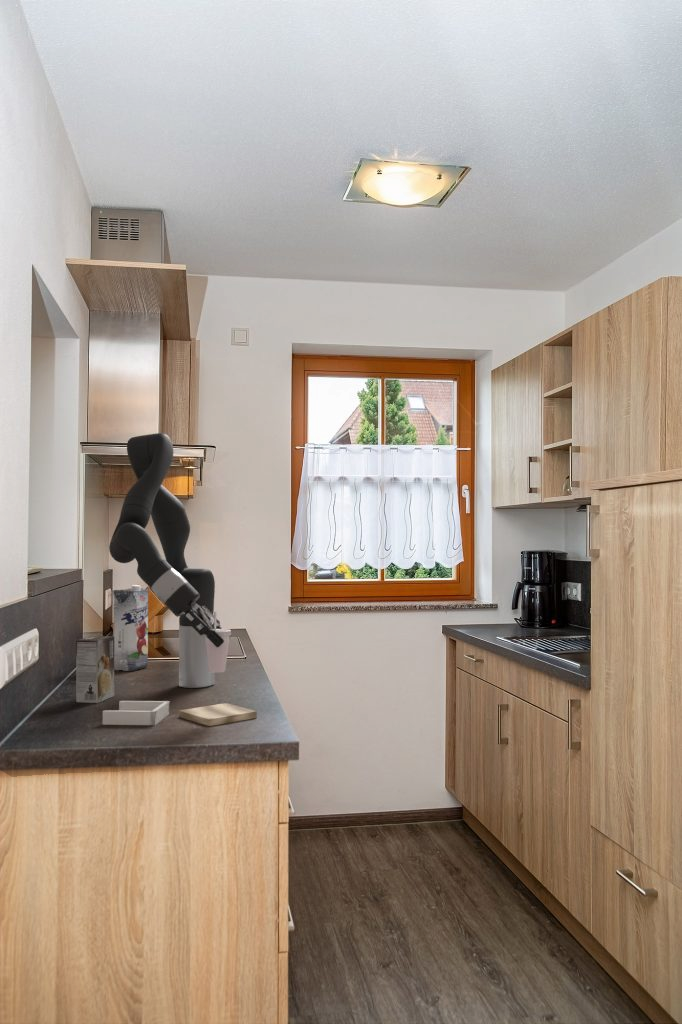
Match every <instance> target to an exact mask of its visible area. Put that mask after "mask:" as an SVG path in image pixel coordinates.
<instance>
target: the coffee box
mask: <svg viewBox="0 0 682 1024" xmlns="http://www.w3.org/2000/svg"><path fill="white" fill-rule="evenodd" d="M75 643H76V645H75V646H76V649H75V651H76V652H75V656H76V657H75V658H76V659H75V660H76V663H75V664H76V665H75V667H76V669H75V670H76V671H75V672H76V673H75V677H76V680H75V681H76V685H75V686H76V687H75V688H76V693H75V694H76V696H75V698H76V700H75V702H76V703H86V704H87V703H89V704H99V703H101V702H103V701H106V700H109V699H111V698H113V697H115V670H114V636H113V635H111V636H109V635H108V636H107V635H93V636H88V637H85V638H80V639H76V640H75Z"/></svg>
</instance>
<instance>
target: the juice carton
mask: <svg viewBox="0 0 682 1024" xmlns="http://www.w3.org/2000/svg"><path fill="white" fill-rule="evenodd" d="M112 596H113V597H112V598H113V605H112V607H113V617H112V618H113V621H112V622H113V624H112V626H113V629H112V630H113V632H112V633H113V635H112V636H114V671H119V670H123V671H124V672H135V671H138V669H139V670H143V669H145V668H148V662H149V661H148V659H149V658H148V657H149V655H148V654H149V589H148V588H142V586H141V585H137V584H132V585H131V588H125V589H114V590H112ZM142 668H143V669H142Z"/></svg>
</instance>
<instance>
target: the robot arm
mask: <svg viewBox="0 0 682 1024" xmlns="http://www.w3.org/2000/svg"><path fill="white" fill-rule="evenodd" d="M173 445H174V444H173V442H172V440H171V437H169V435H167V434H166V433H162V432H157V433H151V434H150V433H149V434H144V435H137V436H133V437H130V438H129V439H128V440H127V443H126V453H127V458H128V459H129V464H130V466H131V469H132V471H133V473H134V475H135V477H136V480H137V481H135V483H134V484H133V485H132V486H131V487H130V489H129V490H128V491H127V493H126V495H125V496H124V500H123V503H122V506H121V507H122V508H121V510H120V515H119V519H118V522H117V524H116V526H115V529H114V531H113V534H112V536H111V539H110V543H109V546H108V547H109V549H108V550H109V553H110V556H111V557H112V559H114V561H115V562H118V563H121V564H128V563H131V562H132V561H134V560H135V561H136V562H137V563H136V564H137V569H136V572H137V575H138V577H139V578H140V579H141V580H142V581H143V582H144V583H145V585H147V586H148V587H149V588H150V589H151V591H152V592H153V593H154V595H155V596H156V597H157V598H158V599H159V600H160V601H161V602H162V603H163V605H165V607H166V608H168V609H169V611H170V612H171V613H172V614H173V615H174V616H175V617H176V618H177V617H179V619H178V687H180V688H181V687H182V688H189V689H190V688H191V689H193V688H194V689H195V688H197V689H198V688H206V687H210V686H212V685H215V683H216V680H215V679H216V677H215V675H216V673H211V672H209V665H208V657H207V648H206V639H205V637H206V636H207V638H208V639H209V640H210V641H211V642H212V643H213V644H214V645H215V646H216V647H220V646H221V645H222V644H223V643H224V640H223V639H222V638H221V637H220V636H219V635H218V634H217V633H216V631H215V630H213V629H214V612H215V611H214V610H215V592H216V590H215V587H216V585H215V584H216V583H215V582H216V580H215V577H214V574H213V572H212V571H211V570H210V569H208V568H189V567H188V565H187V562H186V558H185V549H186V546H187V543H188V540H189V538H190V534H191V524H190V521H189V517H188V514H187V512H186V507H185V506H184V504H183V503H182V502H181V501H180V499H179V498H177V497H176V496H175V495H174V494H173V493H171V491H169V490H168V489H167V488H166V487H165V486H164V485H162V484H163V482H164V480H165V478H166V477H167V473H168V471H169V469H170V467H171V466H172V463H173V459H174V446H173ZM150 518H151V520H152V522H153V525H154V528H155V529H154V530H155V531H156V533H157V536H158V540H159V541H160V545H161V548H162V550H163V553H164V557H163V556H162V555H161V553H160V551H159V550H158V547H157V546H156V544H155V542H154V540H153V539H152V538H151V535H150V534H149V533H148V531H146V528H147V526H148V524H149V521H150ZM216 629H223V627H221V621H220V620H218V619H217V618H216ZM212 630H213V631H212ZM230 639H231V635H230V636H229V640H230Z"/></svg>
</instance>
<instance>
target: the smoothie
mask: <svg viewBox="0 0 682 1024" xmlns="http://www.w3.org/2000/svg"><path fill="white" fill-rule="evenodd" d="M213 615H214V629H213V630H215V631H216V633H217V634H218V635H219V636H220V637H221V638H222V639H223V640H224V643H223V644H222V645H221V646H220V647H216V646H215V645H214V644H213V643H212V642H211V641H210V640H209V639H208V638H207V636H206V637H205V639H206V648H207V657H208V665H209V672H211V673H215V674H219V673H225V672H226V669H227V667H226V666H227V660H228V659H227V658H228V652H229V651H228V650H229V643H230V639H229V636H230V637H231V635H232V630H231V629H229V628H222V629H216V619H217V611H214V612H213ZM213 630H212V631H213Z"/></svg>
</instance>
